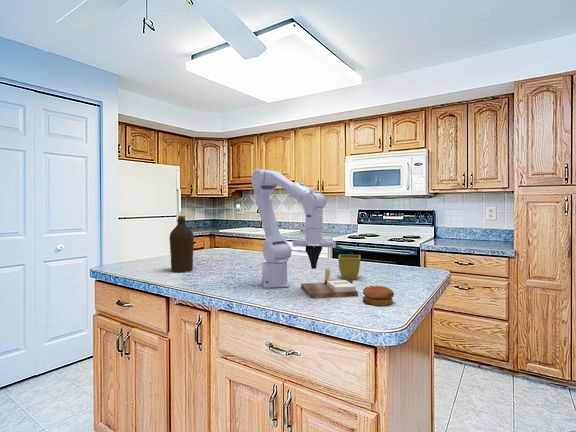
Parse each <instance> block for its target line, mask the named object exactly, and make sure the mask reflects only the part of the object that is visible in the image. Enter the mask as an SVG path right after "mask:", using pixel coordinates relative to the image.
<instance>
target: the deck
mask: <svg viewBox="0 0 576 432" xmlns="http://www.w3.org/2000/svg"><path fill="white" fill-rule="evenodd" d="M300 288H301V289H302V290H303V292H304V293H305V294H306V295H307V296H308V297H309V298H310V299H327V298H345V297H358V296H359V293H358V290H356V291H342V292H335V291H334V290H332V289H331V288H330V287H329V286H328V285H327V284H326V283H325V282H307V283H306V282H305V283H301V284H300Z"/></svg>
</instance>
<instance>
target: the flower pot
mask: <svg viewBox="0 0 576 432" xmlns="http://www.w3.org/2000/svg"><path fill="white" fill-rule="evenodd" d="M337 259H338V260H337V261H338V268H339V269H338V270H339V273H340V276H341V277H342V279H343V280H356V279H357V278H358V275H359V272H360V266H361V254H338V258H337Z"/></svg>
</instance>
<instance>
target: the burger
mask: <svg viewBox="0 0 576 432" xmlns="http://www.w3.org/2000/svg"><path fill="white" fill-rule="evenodd" d="M362 294H363V295H364V296H362V302H363V303H366V304H368V305H373V306H379V307H380V306H381V307H382V306H384V307H385V306H386V307H387V306H391V305H392V304H393V298H394V296H395V293H394V291H393V289H391V288H390V287H387V286H382V285H369V286H366V287H364V288H363V290H362Z"/></svg>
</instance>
